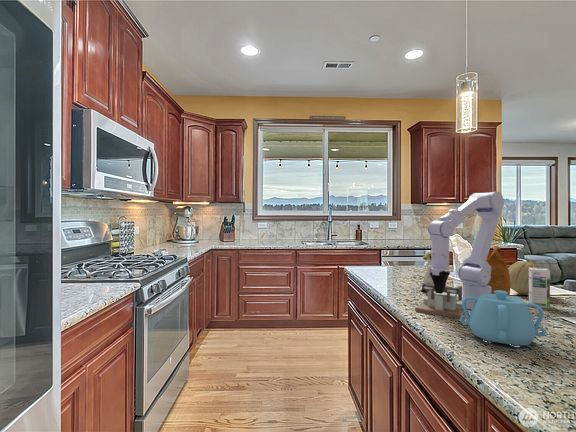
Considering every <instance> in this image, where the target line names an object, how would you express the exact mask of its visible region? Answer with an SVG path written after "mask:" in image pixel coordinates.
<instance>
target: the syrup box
mask: <svg viewBox="0 0 576 432" xmlns="http://www.w3.org/2000/svg"><path fill="white" fill-rule="evenodd" d="M528 303H534V304H537V305H539V306H540V307H541V308H542V309H551V270H550V269H549V268H544V267H543V268H542V267H541V268H530V267H529V295H528Z"/></svg>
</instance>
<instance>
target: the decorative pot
mask: <svg viewBox="0 0 576 432" xmlns="http://www.w3.org/2000/svg"><path fill="white" fill-rule="evenodd" d="M494 293H495V294H481V295H479V297H478V298H477V297H475V296H468V297H466V298H464V299H463V298H462V302H461V303H462V306H463V309H464V312H465V315H463V316H461V318H460V319H459V320H460V322H461V323H462V324H463V325H465V326H469V328H470V330H471V331H472V333H473V334H474V335H475V336H476V337H478V338H480V339H481V340H482V339H483V340H484V341H487V342H486V343H488V342H492V343H493V342H494V343H499V344H504V345H509V344H511V345H513V346H521V347H522V346H528V345H530V344H531V343H532V342H533V341H534V339H535V337H540V338H541V337H544V336H545V335H546V334H547V333H546V332H547V330H546V329H545V327H543V326H540V325H541V323H542V321H543V320H544V315H545V312H544V308H541V307H540V306H539V305H537V304H534V303H529V302H525V301H524V300H523V299H522V298H520V297H517V296H512V295H510V296H507V295H508V292H506V291H501V290H496V291H494ZM467 300H476V302H475V303H474V305H473V307H472V310H471V309H470V312H469V309H467V306H466V301H467ZM529 307H532V308H534V309H536V310H537V311H538V316H537V319H536V321H534V319H533V316H532V313H531V311H530V309H529ZM465 319H466V320H465ZM538 330H541V332H539V331H538ZM484 341H483V342H484Z"/></svg>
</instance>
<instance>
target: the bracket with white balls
mask: <svg viewBox="0 0 576 432" xmlns="http://www.w3.org/2000/svg"><path fill="white" fill-rule="evenodd" d="M421 287H422V290H424V291H425V296H426V297H427V292H429V290H430V291H431V299H432V300H434V291H435V288H434V285H430V282H426V283H425V282H424V283H422V285H421ZM422 290H421V291H422ZM443 292H444V293H447V302H450V293H451V294H456V295H458V297H457V298H458V299H457V301H460V302H461V301H463V285H458V286H457V287H454V286H453V287H451V286H444V289H443Z"/></svg>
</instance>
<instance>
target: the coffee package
mask: <svg viewBox="0 0 576 432" xmlns="http://www.w3.org/2000/svg"><path fill="white" fill-rule="evenodd" d="M492 249H493V251H492V252H491V254H490V256H489V258H487V260H486V261H487V263H488V264H489V265H490V266H491V279H490V281H489V283H488V284H487V285H486V286H491V290H492V294H495V293H494V291H496V290H501V291H506V292H508V295H507V296H511V283H510V275H509V269H508V268H509V266H508V264H507V263H506V262H505V260H504V259H503V257H502V256H501V255H500V253H501V252H502V249H501V248H500V247H499V246H498V245H496V246H493V247H492Z"/></svg>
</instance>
